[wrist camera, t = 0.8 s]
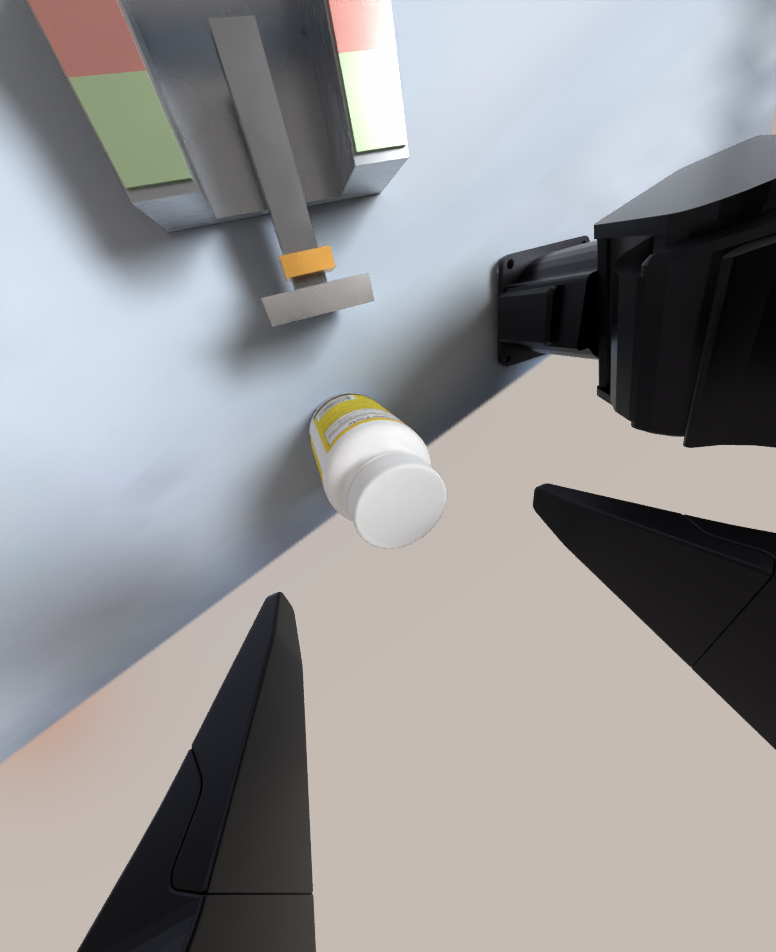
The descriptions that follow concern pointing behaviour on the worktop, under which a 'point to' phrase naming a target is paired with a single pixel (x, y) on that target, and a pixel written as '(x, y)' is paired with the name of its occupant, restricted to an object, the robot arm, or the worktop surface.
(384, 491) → the supplement bottle
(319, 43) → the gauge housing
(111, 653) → the worktop surface
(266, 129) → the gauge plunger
